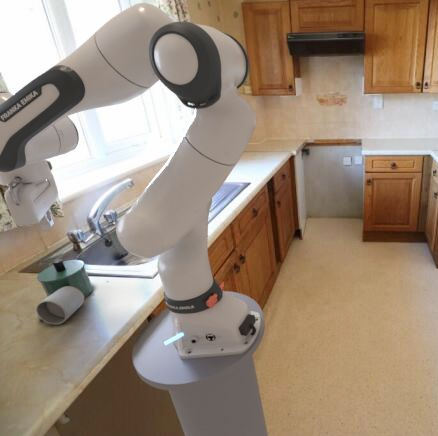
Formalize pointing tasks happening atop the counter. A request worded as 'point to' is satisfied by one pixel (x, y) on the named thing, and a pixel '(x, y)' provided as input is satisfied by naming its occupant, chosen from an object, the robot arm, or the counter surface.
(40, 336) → the counter surface
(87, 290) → the pot
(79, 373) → the counter surface
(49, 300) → the ceramic mug
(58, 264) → the pot lid
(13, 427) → the counter surface
